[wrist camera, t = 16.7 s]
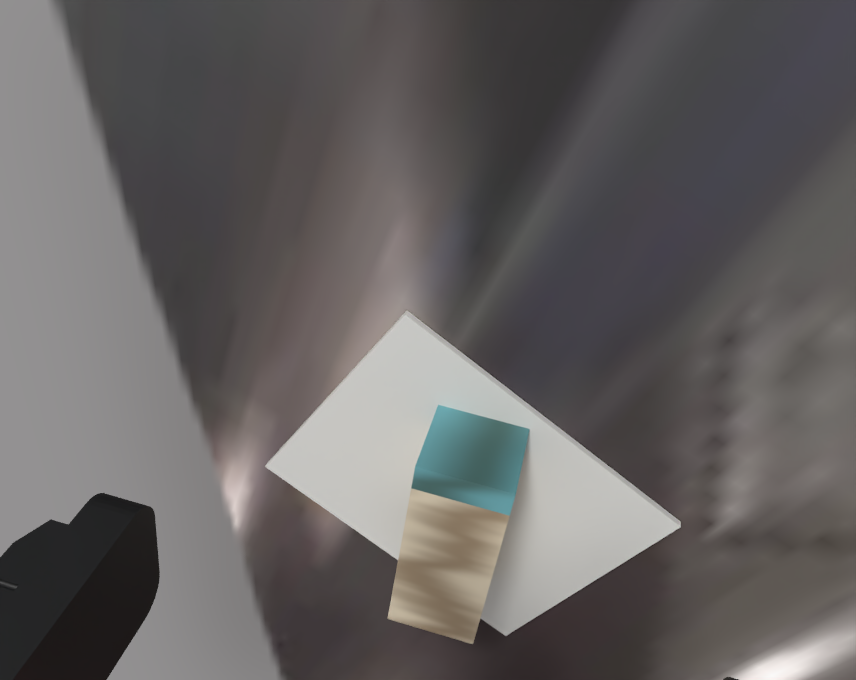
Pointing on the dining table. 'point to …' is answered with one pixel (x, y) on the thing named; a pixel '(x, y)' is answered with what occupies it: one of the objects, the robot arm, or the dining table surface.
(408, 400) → the grey mat
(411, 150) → the dining table surface
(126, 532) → the robot arm
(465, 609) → the beige tall box
